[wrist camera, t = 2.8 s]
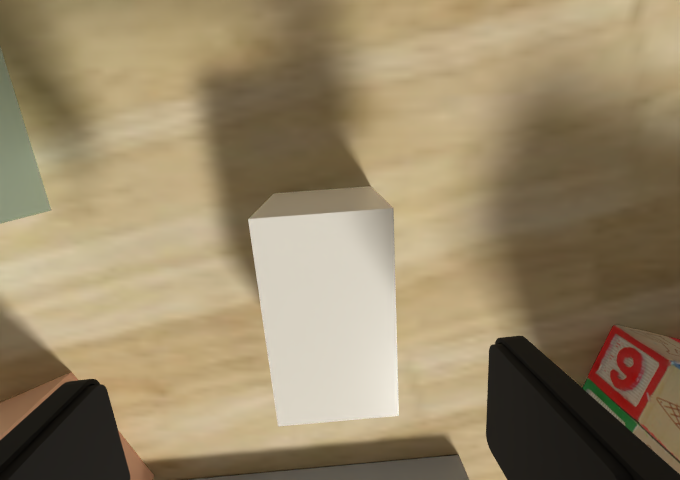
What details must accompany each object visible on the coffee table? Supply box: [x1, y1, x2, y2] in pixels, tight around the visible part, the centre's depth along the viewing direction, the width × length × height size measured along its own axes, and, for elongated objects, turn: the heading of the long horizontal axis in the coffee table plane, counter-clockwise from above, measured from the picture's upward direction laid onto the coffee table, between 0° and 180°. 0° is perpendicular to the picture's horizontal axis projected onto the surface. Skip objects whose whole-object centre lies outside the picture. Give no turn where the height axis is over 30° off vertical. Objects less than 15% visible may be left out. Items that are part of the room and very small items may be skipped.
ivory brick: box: [248, 186, 399, 426], centre depth 13 cm, size 7×4×5 cm, turn 4°
